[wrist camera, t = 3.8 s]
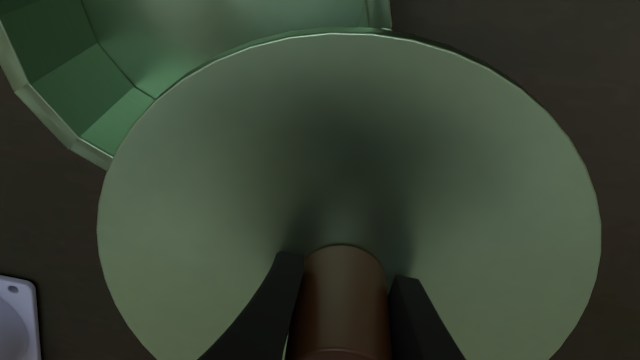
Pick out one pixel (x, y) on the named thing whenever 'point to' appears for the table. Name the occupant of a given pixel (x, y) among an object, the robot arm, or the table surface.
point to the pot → (138, 53)
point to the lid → (349, 200)
